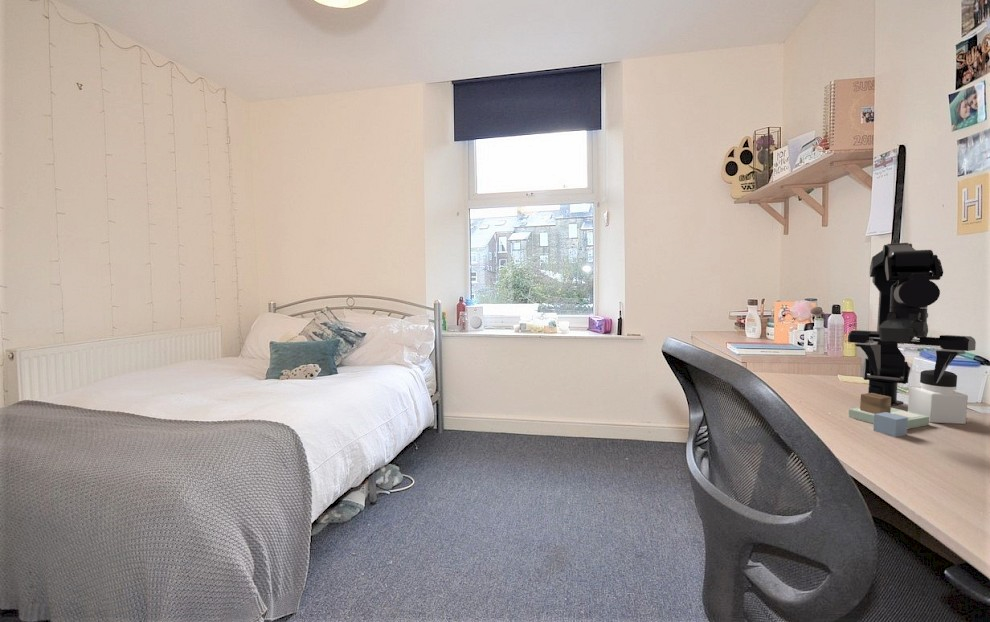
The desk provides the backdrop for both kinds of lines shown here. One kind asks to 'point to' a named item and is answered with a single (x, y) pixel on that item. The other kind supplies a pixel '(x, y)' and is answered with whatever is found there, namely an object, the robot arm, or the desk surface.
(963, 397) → the medicine bottle
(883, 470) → the desk surface
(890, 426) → the slate block
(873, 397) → the walnut cube
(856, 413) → the baseplate
